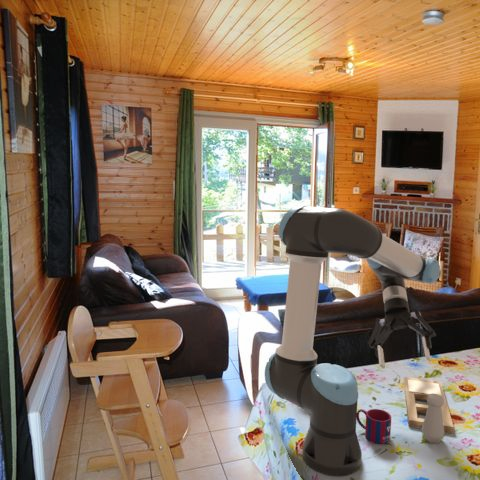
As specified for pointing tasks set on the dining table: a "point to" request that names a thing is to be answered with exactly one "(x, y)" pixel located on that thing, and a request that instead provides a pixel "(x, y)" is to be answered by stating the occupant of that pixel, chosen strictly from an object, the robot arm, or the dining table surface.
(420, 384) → the wooden slotted tray
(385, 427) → the mug
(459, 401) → the dining table surface
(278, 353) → the robot arm
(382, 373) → the dining table surface
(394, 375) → the dining table surface
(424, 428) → the salt shaker
